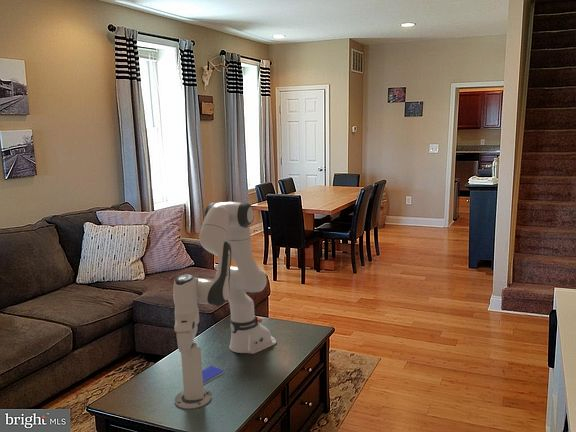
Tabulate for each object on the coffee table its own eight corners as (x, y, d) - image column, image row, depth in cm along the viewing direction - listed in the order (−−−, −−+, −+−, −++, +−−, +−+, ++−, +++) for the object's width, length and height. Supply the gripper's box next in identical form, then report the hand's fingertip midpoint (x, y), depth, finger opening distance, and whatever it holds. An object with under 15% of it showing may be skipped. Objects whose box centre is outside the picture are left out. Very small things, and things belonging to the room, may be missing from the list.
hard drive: (202, 382, 205) (224, 370, 214) (189, 377, 210) (210, 365, 219) (203, 386, 205) (224, 373, 215) (189, 380, 210) (210, 368, 220)
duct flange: (202, 386, 204) (202, 383, 204) (217, 401, 192) (217, 398, 192) (169, 397, 197) (169, 394, 196) (183, 413, 185) (182, 410, 185)
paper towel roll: (182, 396, 195) (178, 344, 191) (196, 391, 198) (193, 340, 194) (189, 404, 189) (185, 350, 185) (204, 399, 192) (200, 346, 189)
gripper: (183, 308, 199) (186, 341, 201) (173, 329, 179) (176, 365, 181) (199, 308, 199) (202, 340, 201) (190, 328, 179) (193, 365, 181)
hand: (189, 352), depth 191 cm, fingers open, 3 cm apart
